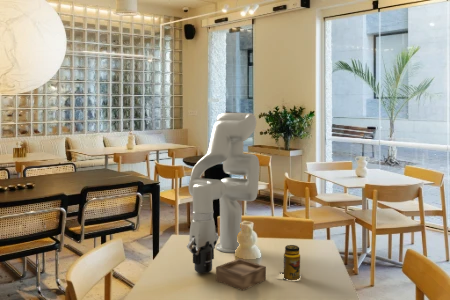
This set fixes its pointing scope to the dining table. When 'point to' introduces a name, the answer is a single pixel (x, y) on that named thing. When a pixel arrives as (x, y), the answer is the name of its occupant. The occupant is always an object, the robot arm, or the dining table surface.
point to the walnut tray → (240, 274)
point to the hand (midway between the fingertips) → (203, 260)
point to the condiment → (291, 263)
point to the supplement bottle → (204, 259)
